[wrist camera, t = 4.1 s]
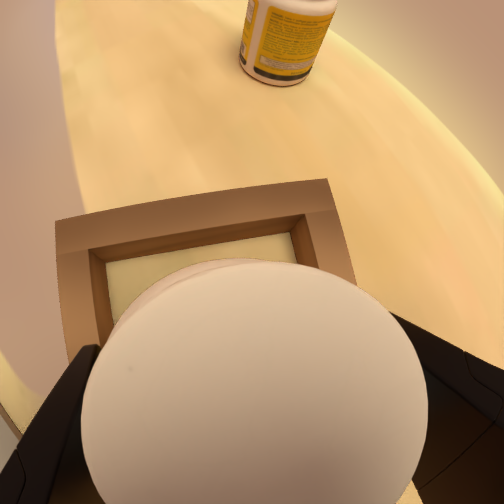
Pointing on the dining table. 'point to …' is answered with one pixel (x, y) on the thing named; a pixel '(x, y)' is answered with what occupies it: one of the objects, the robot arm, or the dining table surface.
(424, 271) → the dining table surface
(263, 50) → the supplement bottle
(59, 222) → the open wooden u-frame
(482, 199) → the dining table surface
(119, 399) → the pill bottle
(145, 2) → the dining table surface
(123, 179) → the dining table surface
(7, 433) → the coaster
